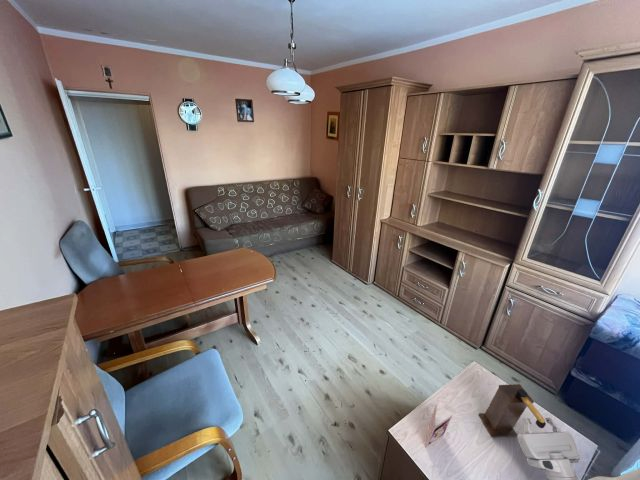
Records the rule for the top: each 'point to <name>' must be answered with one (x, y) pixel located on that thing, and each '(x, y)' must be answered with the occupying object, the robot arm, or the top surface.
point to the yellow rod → (531, 407)
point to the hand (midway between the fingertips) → (537, 418)
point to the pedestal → (504, 412)
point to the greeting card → (436, 429)
